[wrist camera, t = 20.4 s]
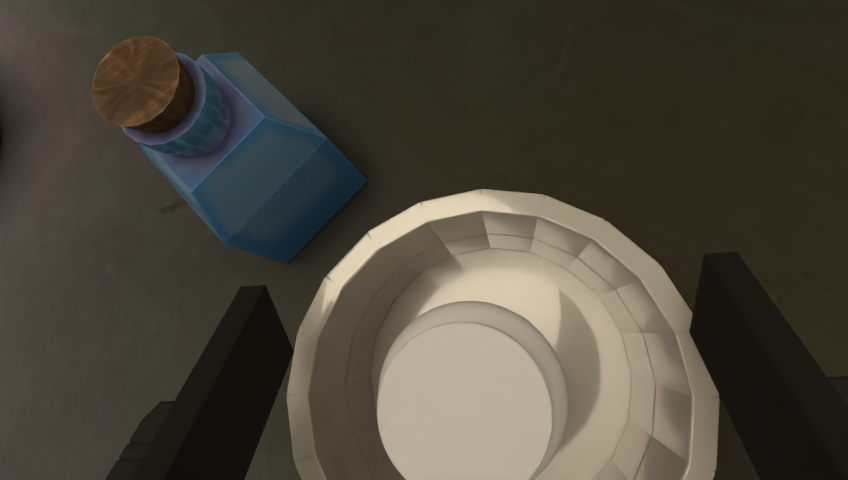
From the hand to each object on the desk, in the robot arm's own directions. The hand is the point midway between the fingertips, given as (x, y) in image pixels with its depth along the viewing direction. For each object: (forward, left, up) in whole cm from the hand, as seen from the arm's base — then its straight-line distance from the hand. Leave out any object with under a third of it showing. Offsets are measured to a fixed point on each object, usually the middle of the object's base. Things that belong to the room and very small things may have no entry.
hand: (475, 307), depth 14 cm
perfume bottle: (-6, +12, -11) cm, 17 cm away
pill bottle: (-2, -2, -11) cm, 11 cm away
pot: (-1, -2, -11) cm, 11 cm away
